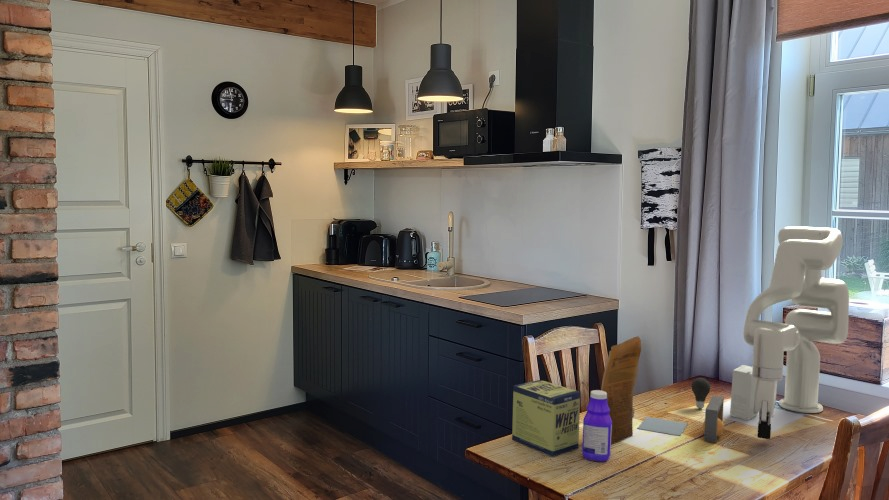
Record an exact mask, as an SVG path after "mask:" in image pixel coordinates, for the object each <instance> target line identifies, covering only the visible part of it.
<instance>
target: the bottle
mask: <svg viewBox="0 0 889 500" xmlns="http://www.w3.org/2000/svg"><path fill="white" fill-rule="evenodd" d="M609 411H610V409H609V407H608V404H607V393H606V392H605V391H601V390H600V389H595V390H594V389H593V390H590V397H589V402H588V405H587V406H586V413H585V415H584V417H583V421H582V446H581V453H582V456H583V458H584V459H586V460H589V461H595V462H607V461H608V460H609V458H610V456H611V450H612V449H611V447H612V444H611V431H612V421H611V418H610V415H609Z"/></svg>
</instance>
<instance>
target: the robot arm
mask: <svg viewBox="0 0 889 500" xmlns="http://www.w3.org/2000/svg"><path fill="white" fill-rule="evenodd" d="M843 239H844V238H843V234H842V232H841V231H840V230H839V229H837V228H833V227H814V226H785V227H783V228H781V229H780V230H779V231H778V234H777V240H778V243H779V244H778V247H777V250H776V254H775V258H774V263H773V264H774V265H773V269H772V273H771V279H770V284H769V286H768V287H767V288H766V289H765V290H763V291H762V292H761V293H759V294H758V295H757V296H756V297H755V298H754V300H753V301H752V302H751V304H749V306H748V308H747V312H746V316H745V317H746V318H745V321H744V325H743V339H744V342H745V343H746V344H747V345H748V346H752V347H753V348H752V349H753V353H752V367H753V368H752V376H753V377H754V378H756V382H755V394H754V409H753V413H754V414H755V416H757V415H758V422H757V434H756V435H757V438H758V439H764V440H771V436H772V435H771V434H772V432H771V431H772V422H771V421H772V416H773V415H774V412H775V408H776V407H775V406H776V401H777V394H778V393H777V390H778V382H781V381H782V380H783V375H784V352H786V360H785V361H786V363H785V364H786V365H785V381H784V382H785V385H784V396H783V397H784V398H781V399H780V400H778V405H779V407H781V408H783V409H784V410H788V411H792V412H796V413H802V414H804V413H805V414H818V413H821V412H823V410H824V406H823V405H822V404H821V403H819V386H820V385H819V384H820V372H821V371H820V370H821V354H820V351H819V349H818V347H817V345H816V344H815V343H814V342H819V343H827V344H834V345H836V344H838V345H839V344H844V342H846V341H847V338H848V335H849V315H850V311H849V310H850V309H849V308H850V307H849V306H850V292H849V287H848V285H847V283H846V282H845V281H843V280H841V279H838V278H837V279H836V278H829V277H828V278H827V277H826V278H825V277H824V276H822V271H827V270H830V268H832V267H833V265H834V263H835V261H836V260H837V258H838V257H839V255H840V253H841V251H842V249H843V244H844V243H843V242H844V240H843ZM788 300H791V301H792V303H793V304H795V306H798V307H804V308H813V309H814V310H812V309H804V308H803V309H802V308H801V309H793V310H790V311H789V312H788V313H787V315H786V316H785V321H784V322H775V321H768V320H767V321H766V320H759V319H760V317H761V314H762V313H763V312H764V311H765V310H766V309H768V308H770V307H771V306H773V305H776V304H779V303H782V302H786V301H788ZM815 309H820V310H821V309H822V310H828V311H829V312H828V311H822V310H821V311H820V310H815ZM756 414H757V415H756Z"/></svg>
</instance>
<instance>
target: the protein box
mask: <svg viewBox="0 0 889 500" xmlns="http://www.w3.org/2000/svg"><path fill="white" fill-rule="evenodd" d="M512 389H513V390H512V391H513V393H512V396H513V397H512V425H511V426H512V433H511V440H512V441H514V442H517V443H518V444H520V445H521V444H522V445H523V446H526V447H528V448H530V449H533V450H535V451H538V452H540V453H542V454H545V455H548V456H550V457H556V456H558V455H561V454H565V453H567V452H570V451H574V450H576V449H577V450H578V449H579V443H580V442H579V440H580V439H579V437H580V410H581V391H578V390H576V389H572V388H568V387H565V386H562V385H558V384H554V383H552V382H549V381H546V380H543V379H537V380H533V381H530V382H524V383H519V384H515V385H513V388H512Z"/></svg>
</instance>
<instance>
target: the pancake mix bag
mask: <svg viewBox="0 0 889 500" xmlns="http://www.w3.org/2000/svg"><path fill="white" fill-rule="evenodd" d="M610 349H611V350H609V352H608V356H607V359H606V360H607V361H606V365H605V367H604V372H603V376H602V382H601V390H600V391H605V392H606V393H607V404H608V407H609V409H610V411H609V415H610V418H611V421H612V431H611V445H613V444H614V445H615V444H616V443H619V442H620V441H623V440H625V439H628V438H630V437H633V434H634V433H633V421H634V420H633V419H634V417H633V408H634V406H633V402H634V401H633V400H634V389H635V385H636V381H637V378H638V371H639V369H638V368H639V362H640V361H639V360H640V358H641V352H642V340H641V338H640V337H639V335H637V336H635V337H632V338H629V339H627V340H625V341H623V342H622V343H621V342H620V343H618V344H615V345H612V346H611V347H610Z"/></svg>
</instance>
